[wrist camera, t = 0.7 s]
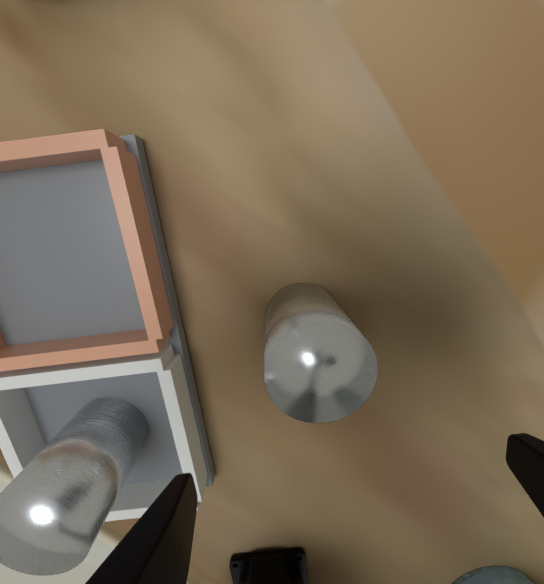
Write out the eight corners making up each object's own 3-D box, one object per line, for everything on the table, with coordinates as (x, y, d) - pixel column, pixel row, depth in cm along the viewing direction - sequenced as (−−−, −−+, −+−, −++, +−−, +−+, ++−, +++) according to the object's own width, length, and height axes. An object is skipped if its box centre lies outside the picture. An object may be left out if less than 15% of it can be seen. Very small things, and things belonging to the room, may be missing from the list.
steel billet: (340, 347, 20) (379, 416, 13) (269, 356, 20) (271, 428, 13) (336, 278, 19) (376, 314, 12) (260, 287, 19) (256, 328, 12)
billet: (156, 452, 21) (102, 569, 14) (87, 461, 21) (1, 580, 14) (139, 392, 19) (71, 489, 12) (66, 401, 19) (-41, 501, 13)
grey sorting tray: (214, 473, 22) (207, 511, 19) (64, 491, 22) (35, 531, 20) (142, 139, 16) (115, 122, 13) (-65, 165, 16) (-137, 154, 13)
